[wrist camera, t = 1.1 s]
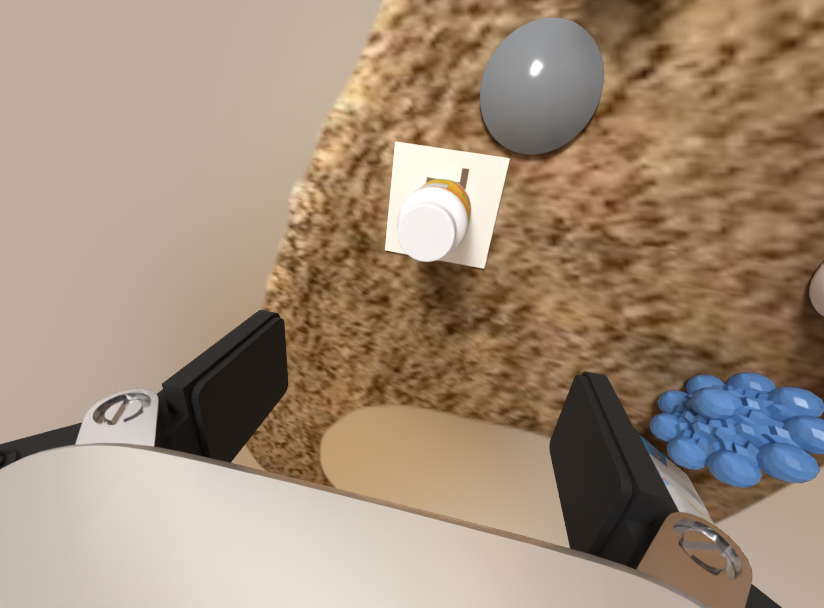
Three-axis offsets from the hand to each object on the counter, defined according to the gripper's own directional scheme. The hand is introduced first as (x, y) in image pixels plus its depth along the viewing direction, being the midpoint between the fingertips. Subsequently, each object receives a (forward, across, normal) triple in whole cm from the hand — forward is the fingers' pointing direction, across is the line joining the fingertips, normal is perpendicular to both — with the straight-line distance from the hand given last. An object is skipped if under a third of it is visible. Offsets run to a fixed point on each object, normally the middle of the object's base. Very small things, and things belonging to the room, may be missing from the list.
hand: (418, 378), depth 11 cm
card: (+24, +2, -1) cm, 24 cm away
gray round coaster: (+24, -4, -11) cm, 27 cm away
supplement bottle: (+24, +2, -1) cm, 24 cm away
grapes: (+24, -25, +12) cm, 37 cm away
